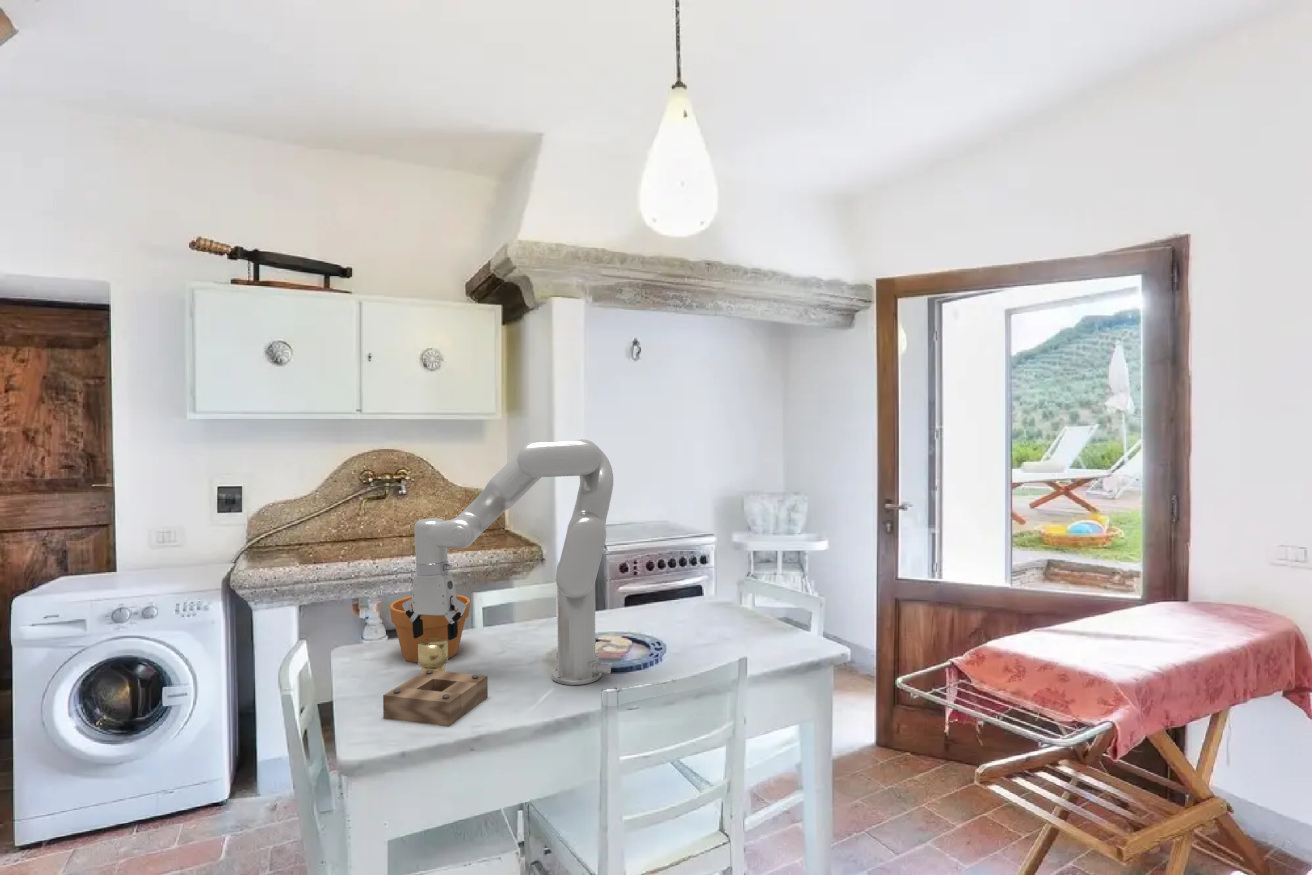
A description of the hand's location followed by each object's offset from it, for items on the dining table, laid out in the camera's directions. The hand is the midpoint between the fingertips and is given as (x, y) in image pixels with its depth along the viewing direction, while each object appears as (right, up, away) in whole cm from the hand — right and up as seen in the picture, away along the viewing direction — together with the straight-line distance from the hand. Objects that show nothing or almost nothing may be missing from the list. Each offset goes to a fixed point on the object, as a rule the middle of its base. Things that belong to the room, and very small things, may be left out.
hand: (435, 637), depth 172 cm
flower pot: (-8, -11, +22) cm, 26 cm away
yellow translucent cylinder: (-1, -11, 0) cm, 11 cm away
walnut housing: (+6, -12, -17) cm, 22 cm away
